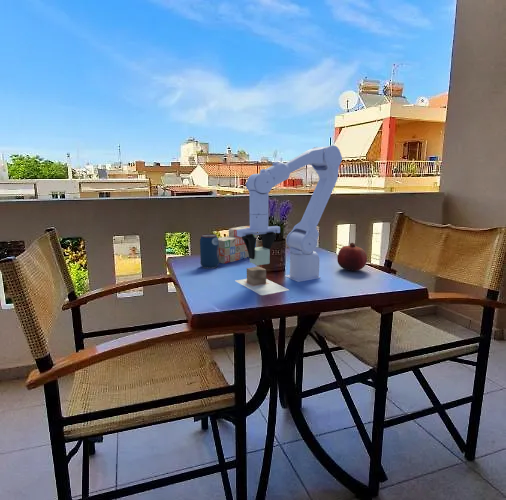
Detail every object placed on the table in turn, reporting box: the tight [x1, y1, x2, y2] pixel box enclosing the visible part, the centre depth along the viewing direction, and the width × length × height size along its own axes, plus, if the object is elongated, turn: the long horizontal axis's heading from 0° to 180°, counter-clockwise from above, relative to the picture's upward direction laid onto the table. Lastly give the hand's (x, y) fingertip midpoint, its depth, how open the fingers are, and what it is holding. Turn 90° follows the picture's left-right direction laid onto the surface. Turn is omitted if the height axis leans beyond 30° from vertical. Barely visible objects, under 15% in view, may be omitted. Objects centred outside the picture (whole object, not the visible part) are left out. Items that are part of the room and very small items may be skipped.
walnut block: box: [246, 266, 267, 285], centre depth 118 cm, size 4×4×4 cm
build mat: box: [235, 278, 290, 296], centre depth 116 cm, size 10×17×1 cm, turn 30°
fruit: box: [336, 242, 368, 272], centre depth 134 cm, size 11×10×10 cm
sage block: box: [249, 246, 271, 266], centre depth 116 cm, size 4×4×4 cm
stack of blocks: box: [217, 225, 257, 264], centre depth 153 cm, size 21×6×12 cm, turn 141°
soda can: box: [199, 233, 220, 269], centre depth 140 cm, size 7×7×12 cm
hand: (258, 257), depth 116 cm, fingers closed on sage block, 4 cm apart
